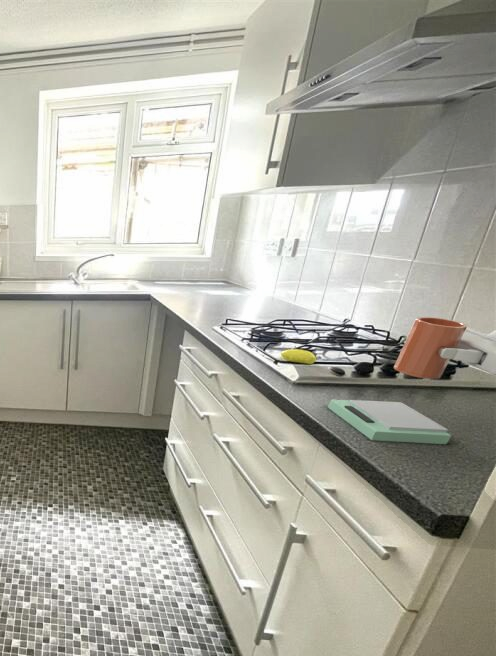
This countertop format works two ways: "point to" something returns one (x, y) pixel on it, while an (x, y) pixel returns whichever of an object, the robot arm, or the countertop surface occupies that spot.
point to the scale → (389, 421)
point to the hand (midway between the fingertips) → (424, 344)
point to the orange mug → (428, 347)
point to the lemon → (299, 356)
